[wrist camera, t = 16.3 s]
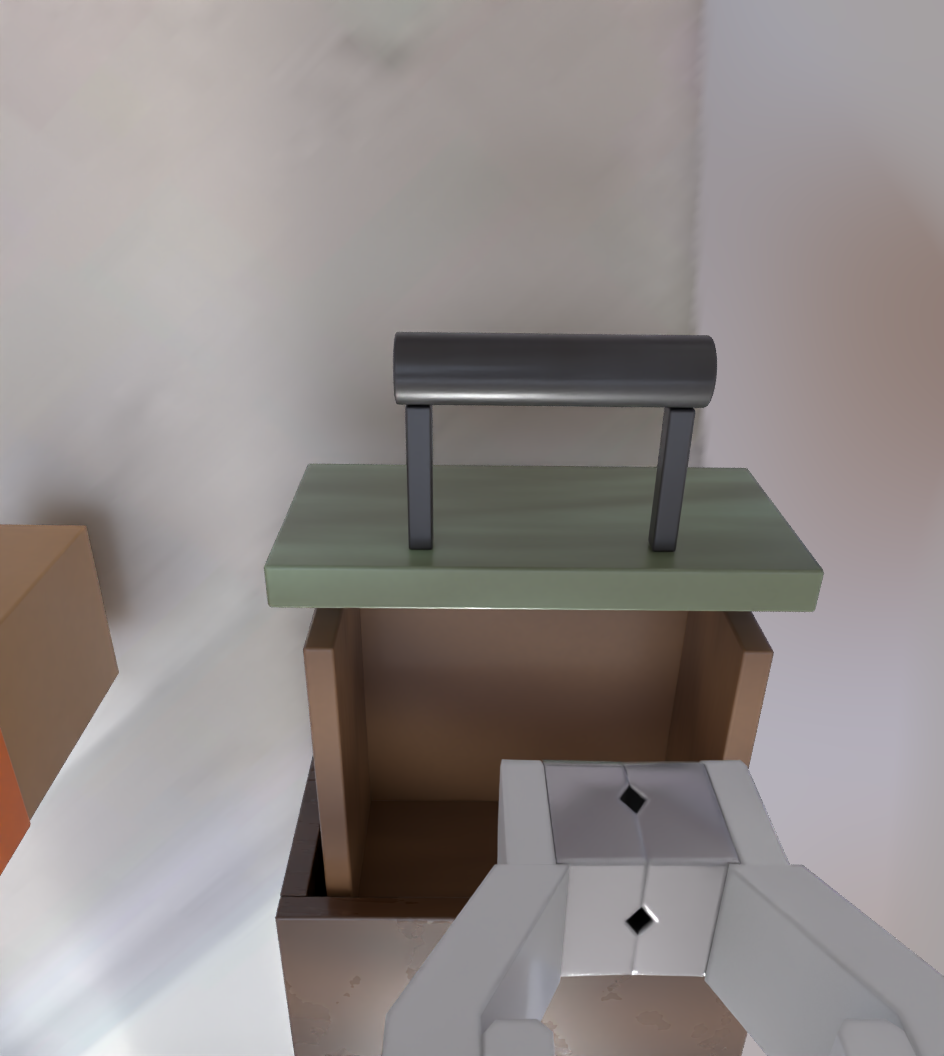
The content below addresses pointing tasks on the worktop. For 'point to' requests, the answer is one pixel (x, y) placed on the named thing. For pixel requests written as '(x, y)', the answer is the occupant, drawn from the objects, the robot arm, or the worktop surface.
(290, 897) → the cabinet
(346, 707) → the drawer
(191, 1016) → the worktop surface
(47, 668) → the block
